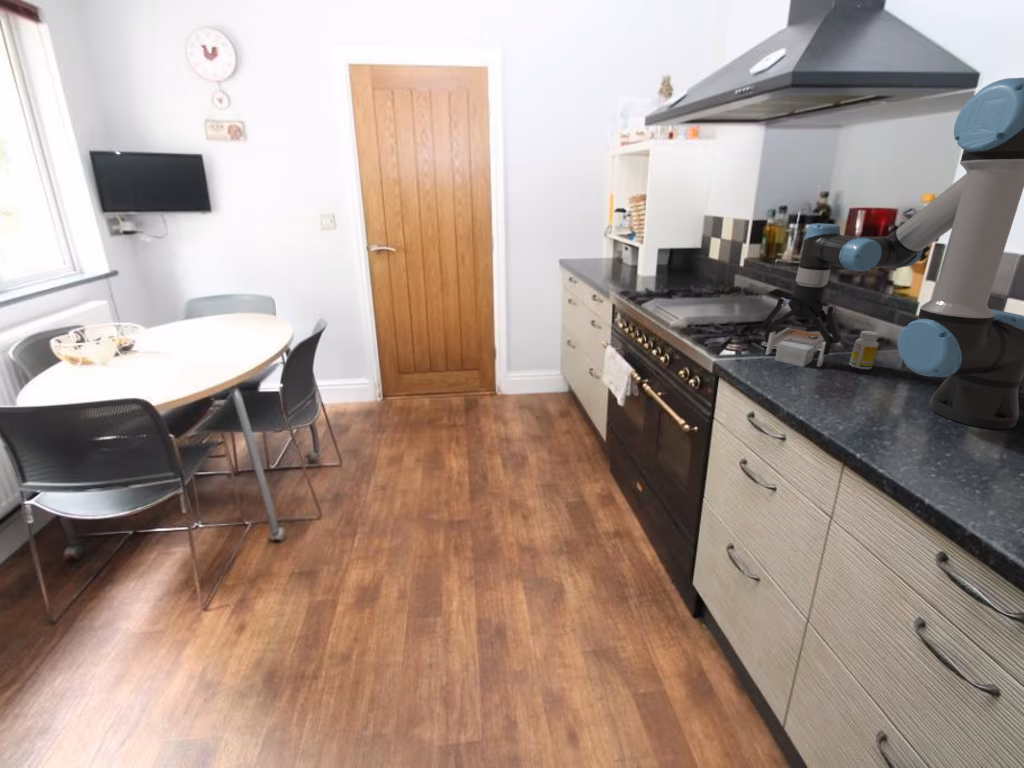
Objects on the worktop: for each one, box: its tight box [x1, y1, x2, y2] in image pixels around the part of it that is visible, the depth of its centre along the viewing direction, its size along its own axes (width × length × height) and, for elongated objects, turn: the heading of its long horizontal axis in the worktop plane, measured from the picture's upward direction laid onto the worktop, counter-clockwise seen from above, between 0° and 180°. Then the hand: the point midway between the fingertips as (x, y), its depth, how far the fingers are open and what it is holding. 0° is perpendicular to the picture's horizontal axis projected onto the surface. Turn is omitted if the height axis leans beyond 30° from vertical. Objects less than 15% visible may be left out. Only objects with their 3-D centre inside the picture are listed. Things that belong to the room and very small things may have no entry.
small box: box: [774, 339, 816, 368], centre depth 150 cm, size 8×8×5 cm
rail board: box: [760, 327, 825, 355], centre depth 164 cm, size 20×14×2 cm
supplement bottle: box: [848, 330, 879, 370], centre depth 146 cm, size 5×5×10 cm
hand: (793, 359), depth 151 cm, fingers open, 13 cm apart
